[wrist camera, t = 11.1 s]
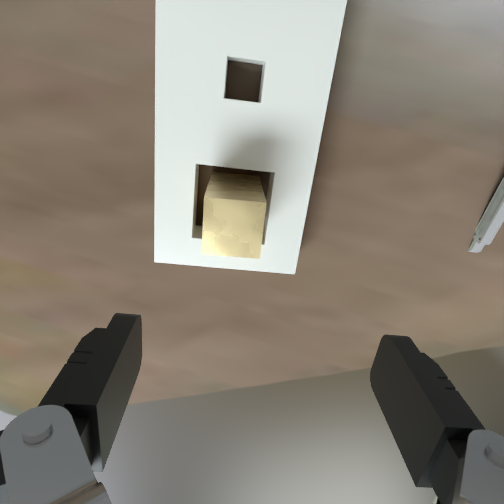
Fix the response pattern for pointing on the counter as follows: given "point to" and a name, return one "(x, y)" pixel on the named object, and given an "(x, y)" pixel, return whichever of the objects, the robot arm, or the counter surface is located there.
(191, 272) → the counter surface
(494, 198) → the caliper
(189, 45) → the white peg hole board
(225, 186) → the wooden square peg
